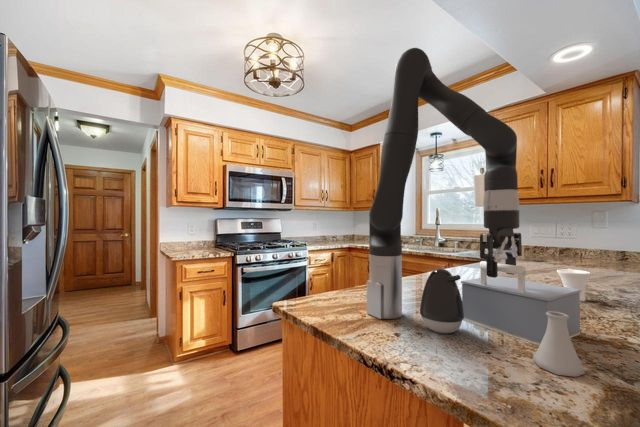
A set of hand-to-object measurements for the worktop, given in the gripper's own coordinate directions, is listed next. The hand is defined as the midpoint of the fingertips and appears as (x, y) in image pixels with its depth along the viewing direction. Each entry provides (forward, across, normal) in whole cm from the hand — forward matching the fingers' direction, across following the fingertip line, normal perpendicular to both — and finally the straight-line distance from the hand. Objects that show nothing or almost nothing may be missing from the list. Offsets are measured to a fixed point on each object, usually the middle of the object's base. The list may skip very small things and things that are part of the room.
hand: (501, 275), depth 72 cm
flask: (+14, -9, -15) cm, 22 cm away
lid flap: (+4, +7, 0) cm, 8 cm away
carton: (+14, +7, 0) cm, 15 cm away
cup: (+14, +52, +5) cm, 54 cm away
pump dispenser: (+14, -12, +8) cm, 20 cm away
